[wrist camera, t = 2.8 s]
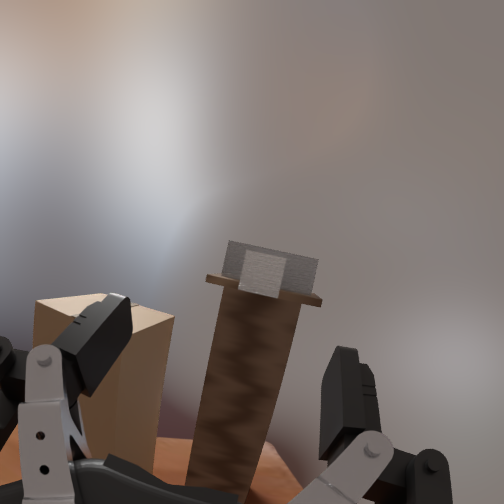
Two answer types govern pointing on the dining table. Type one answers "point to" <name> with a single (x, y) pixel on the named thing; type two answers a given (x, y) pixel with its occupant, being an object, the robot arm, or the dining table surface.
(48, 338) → the cardboard box
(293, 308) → the tall wooden plank
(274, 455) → the dining table surface
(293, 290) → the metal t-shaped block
